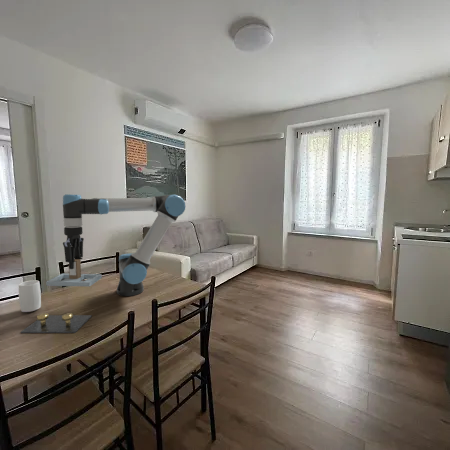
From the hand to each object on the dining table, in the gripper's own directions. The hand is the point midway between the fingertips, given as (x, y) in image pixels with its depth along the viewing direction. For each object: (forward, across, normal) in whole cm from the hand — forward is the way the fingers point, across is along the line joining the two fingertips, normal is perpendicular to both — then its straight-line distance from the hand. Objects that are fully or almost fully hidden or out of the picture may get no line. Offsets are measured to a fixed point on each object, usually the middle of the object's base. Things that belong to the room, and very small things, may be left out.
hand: (75, 273), depth 121 cm
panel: (+4, 0, 0) cm, 4 cm away
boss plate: (+19, +14, 0) cm, 23 cm away
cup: (+19, +1, -22) cm, 29 cm away
